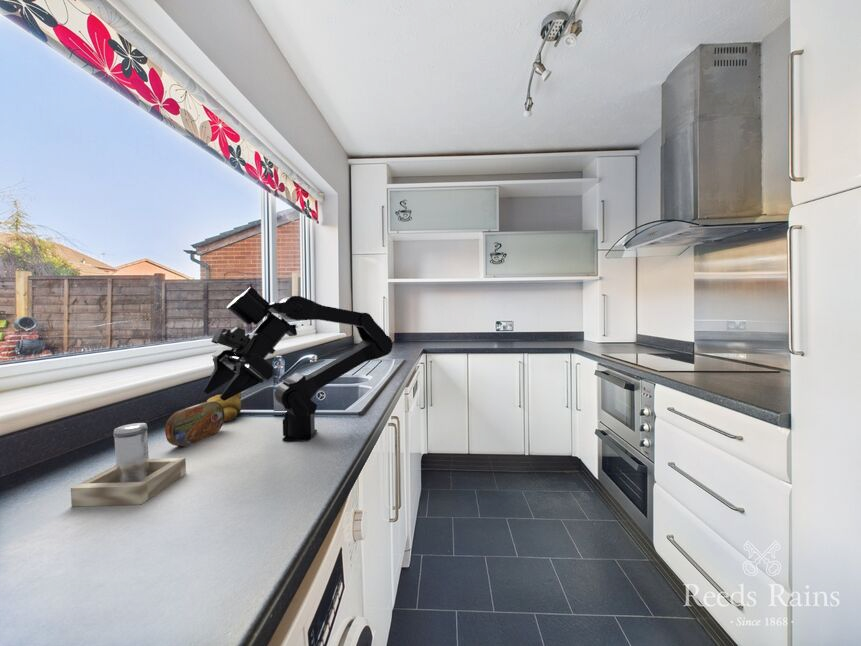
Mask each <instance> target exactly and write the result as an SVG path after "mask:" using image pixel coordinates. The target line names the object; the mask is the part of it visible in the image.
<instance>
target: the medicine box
mask: <svg viewBox="0 0 861 646" xmlns="http://www.w3.org/2000/svg"><path fill="white" fill-rule="evenodd" d="M281 383H283V382H282V381H281V382H279V383H277V384H276V385H275V386H274V387H273V388H272V389H273V391H272V392H273V412H274V411H287V410H285V408H284V406H283V405H281V404H280V403H279V402H278V401H277V400H276V398H275V391H276V388H277V387H278V385H280V384H281Z"/></svg>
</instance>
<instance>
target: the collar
mask: <svg viewBox="0 0 861 646" xmlns="http://www.w3.org/2000/svg"><path fill="white" fill-rule="evenodd" d="M186 459H187V458H186V457H169V458H168V457H167V458H149V476H147V477H146V478H144V479H142V480H141V481H139V482H123V483H117V473H116V464H115V465H113V466H111V467H109V468H107V469H106V470H103V471H102V472H99V473H98V474H96V475H94V476H92V477H90V478H88V479H86V480H84V481H82V482H80V483H79V484H76V485H74V486H72V487H70V498H71V500H70V501H71V503H70V504H71V507H99V506H102V507H103V506H106V507H107V506H136V505H138V506H140V504H141V505H143V504H144V503H146V502H147V501H149V500H150V499H151V498H152V496H153V497H155V496H156V495H157V494H158V493H160V492H161V491H162V490H164V489H165V488H167V487H168V486H170V485H171V484H173V483H174V482H176V481H177V480H179V479H180V478H182V477H183V476H184V475H185V474H187V465H186V464H187V463H186ZM149 498H150V499H149ZM146 500H147V501H146Z"/></svg>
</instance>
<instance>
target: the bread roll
mask: <svg viewBox="0 0 861 646" xmlns="http://www.w3.org/2000/svg"><path fill="white" fill-rule="evenodd" d="M221 395H222V393H221V394H216V395H215V396H211V397H209V398H208V399H207V400H206V402H211V401H215V402H218V403H220V404H221V406H222V407H223V409H224V422H228V421H232V420H234V419H235V418H236V417H237V415H239V414H240V413H241V410H242V401H241V399H242V392H240V393H238V394H237V395H235V396H233V397H231V398H229V399H227V400H225V401H223V400H222V399H220V396H221Z"/></svg>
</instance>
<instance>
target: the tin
mask: <svg viewBox="0 0 861 646" xmlns="http://www.w3.org/2000/svg"><path fill="white" fill-rule="evenodd" d="M224 422H225V421H224V409H223V407H222V406H221V404H220V403H218V402H215V401H211V402H207V401H204V402H201V403H198V404H195V405H192V406H188V407H186V408H183V409H180V410H178V411H175V412H174V413H172V415H170V416H169V417H168V419H167V421H166V423H165V429H164V431H165V434H164V435H165V438H166V441H167V442H168V443H169V444H170V445H172V446H176V447H189V446H191V444H192V445H194V444H196V443H198V442H200V441H202V440H204V439H207V438H210V437H211V436H214V435H216V434H217V433H218V432H219V431H220V430H221V428H222V427H223V425H224Z"/></svg>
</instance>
